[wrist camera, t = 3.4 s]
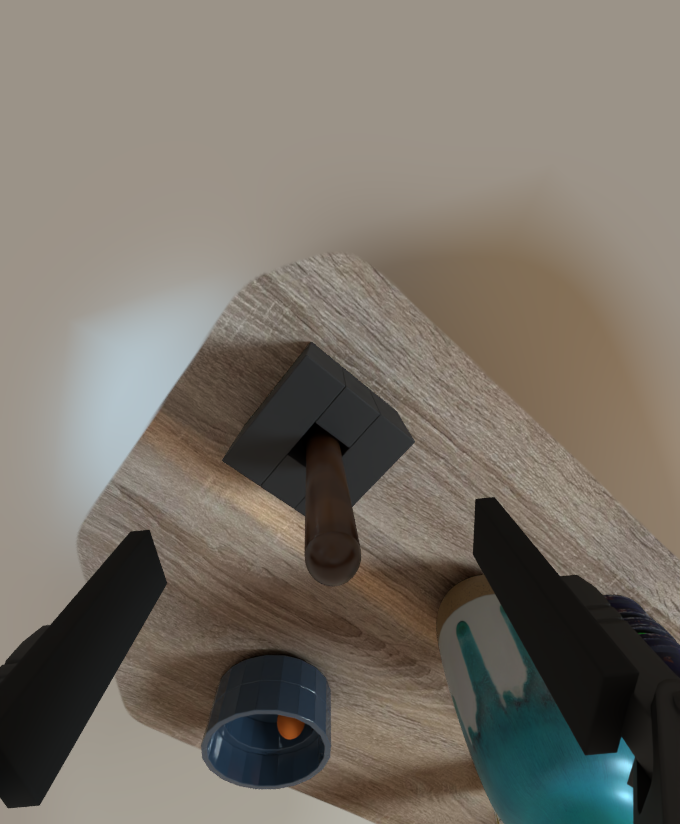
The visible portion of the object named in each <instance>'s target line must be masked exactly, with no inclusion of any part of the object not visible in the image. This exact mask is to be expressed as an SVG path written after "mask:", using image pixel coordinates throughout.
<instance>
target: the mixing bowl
mask: <svg viewBox="0 0 680 824" xmlns="http://www.w3.org/2000/svg"><path fill="white" fill-rule="evenodd" d="M278 715H282V716H286V717H291V718H295V719H297V720H299V721H301V722H304V723H305V725H304V728H303V730H302V732H301V734H300V735H299V736H298V737H296V738H294V739H285V738H284V737H282V736H281V734H280V733H279V730H278V727H277V717H278ZM201 750H202V758H203V760H204V762H205V763H206V765H207V766H208V768H209V769H210V770H211V771H212V772H213V773H215V774H216V775H217V776H219V777H220V778H221V779H223V780H225V781H228V782H230V783H233V784H235V785H239V786H243V787H248V788H253V789H280V788H284V787H290V786H294V785H297V784H300V783H302V782H304V781H307V780H309V779H311V778H312V777H314V776H315V775H316V774H317V773H319V772H320V771H321V770H322V769H323V768H324V766H325V765H326V763H327V762H328V760H329V758H330V751H331V690H330V687H329V685H328V682H327V679H326V677H325V676H324V675H323V674H322V673H321V672H320V671H319V670H318V669H317V668H316V667H314V666H312V665H310V664H308V663H307V662H305V661H303V660H301V659H297V658H293V657H289V656H285V655H264V656H259V657H255V658H250V659H246V660H244V661H242V662H240V663H238V664H236V665H234V666H233V667H231V668H230V669H229V670H228V671H227V672H226V673H225V674H224V675H223V676H222V678H221V680H220V683H219V685H218V688H217V691H216V694H215V698H214V701H213V705H212V708H211V712H210V715H209V719H208V722H207V726H206V729H205V733H204V736H203V740H202V744H201Z"/></svg>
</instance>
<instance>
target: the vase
mask: <svg viewBox="0 0 680 824" xmlns="http://www.w3.org/2000/svg"><path fill="white" fill-rule="evenodd" d="M436 632H437V640H438V645H439V651H440V655H441V660H442V664H443V668H444V672H445V676H446V680H447V683H448V687H449V691H450V694H451V697H452V700H453V704H454V707H455V710H456V713H457V716H458V719H459V723H460V726H461V729H462V732H463V735H464V738H465V741H466V743H467V746H468V749H469V752H470V755H471V757H472V760H473V763H474V765H475V768H476V770H477V773H478V775H479V778H480V780H481V783H482V785H483V787H484V789H485V792H486V794H487V796H488V798H489V800H490V802H491V804H492V806H493V808H494V810H495V812H496V813H497V815H498V816H499V818H500V819H501V821H502V822H503V823H504V824H633V788H632V787H631V786H629V785H628V784H627V782H628V778H629V775H630V771H631V768H632V765H633V762H634V759H635V756H634V755H633V753H632V752H631V750H630V749H629V747H628V746H627V744H626V743H625V741H624V740H623V738H622V737H621V740H620V744H619V747H618V751H617V753H607V754H596V755H586V756H585V755H584V753H583V751H582V749H581V748H580V746H579V744H578V742H577V740H576V739H575V737H574V735H573V733H572V731H571V730H570V728H569V726H568V724H567V722H566V721H565V719H564V717H563V715H562V713H561V712H560V710H559V708H558V706H557V704H556V703H555V701H554V699H553V697H552V695H551V694H550V692H549V690H548V688H547V687H546V685H545V683H544V681H543V679H542V678H541V676H540V674H539V672H538V670H537V669H536V667H535V665H534V663H533V661H532V660H531V658H530V656H529V654H528V652H527V651H526V649H525V647H524V645H523V643H522V642H521V640H520V638H519V636H518V634H517V633H516V631H515V629H514V627H513V626H512V624H511V622H510V620H509V618H508V617H507V615H506V613H505V611H504V609H503V608H502V606H501V604H500V602H499V600H498V599H497V597H496V595H495V593H494V591H493V590H492V588H491V586H490V584H489V582H488V581H487V579H486V577H485V575H479V576H474V577H471V578H468V579H466V580H463V581H461V582H460V583H458V584H456V585H455V586H454V587H453V588H451V589H450V590H449V592H448V593H447V594H446V595H445V597H444V598H443V600H442V602H441V604H440V607H439V610H438V614H437V621H436Z"/></svg>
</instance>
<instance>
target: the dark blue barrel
mask: <svg viewBox="0 0 680 824" xmlns="http://www.w3.org/2000/svg"><path fill="white" fill-rule="evenodd" d="M604 597H605V598H606V599H607V600H608V602H609V603H610V605H611V607H614V608H615V609H616V610H617V611H618V612H619V614H620V615H621V616H622V617H623V620H624V621H627V622H628V623H629V624H630V626H631V627H632V628H633V629H634V630H635V631H636V632H637V633H638V634H639V635H640V636H641V637H642V639H643V640H644V641H645V642H646V643H647V644H648V645H649V646H650V647H651V648H652V649H653V651H654V652H655V653H656V654H657V655H658V656H659V657H660V658H661V659H662V660H663V661H664V663H665V664H666V665H667V666H668V667H669V668H670V669H671V670H672V671H673V672H674V673H675V674H676V675H677V676H678V677H679V678H680V645H679V644H678V643H677V642H676V640H675V639H674V638H673V637H672V636H671V635H670V634H669V633H668V632H667V631H666V630H665V629H664V628H663V627H662V626H661V625H660V624H658V623H657V622H656V621H655V620H654V619H653V618H651V617H650V616H649V615H647V614H646V612H645V611H644V610H643V609H642V608H641V607H640V606H639V605H638V604H637V603H636V602H635V601H634V600H632V599H630V598H627V597H624V596H619V595H604Z"/></svg>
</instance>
